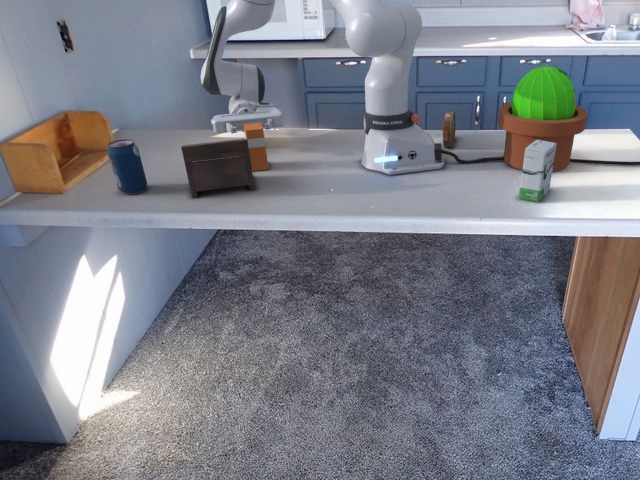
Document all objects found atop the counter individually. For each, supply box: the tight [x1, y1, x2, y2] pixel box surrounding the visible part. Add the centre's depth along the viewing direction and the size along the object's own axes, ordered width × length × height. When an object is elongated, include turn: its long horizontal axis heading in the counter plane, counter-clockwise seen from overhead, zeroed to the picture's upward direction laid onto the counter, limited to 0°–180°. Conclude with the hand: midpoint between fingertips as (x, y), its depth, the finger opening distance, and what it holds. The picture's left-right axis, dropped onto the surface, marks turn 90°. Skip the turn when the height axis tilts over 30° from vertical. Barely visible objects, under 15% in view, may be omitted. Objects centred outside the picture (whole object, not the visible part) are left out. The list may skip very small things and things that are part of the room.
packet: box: [244, 123, 269, 172], centre depth 146 cm, size 4×6×11 cm
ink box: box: [518, 140, 557, 203], centre depth 126 cm, size 9×5×12 cm, turn 148°
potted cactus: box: [497, 63, 589, 172], centre depth 141 cm, size 22×22×25 cm
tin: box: [442, 110, 456, 148], centre depth 161 cm, size 15×3×8 cm, turn 168°
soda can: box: [106, 138, 148, 195], centre depth 133 cm, size 7×7×12 cm
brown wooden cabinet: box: [180, 138, 256, 199], centre depth 134 cm, size 15×10×12 cm, turn 107°
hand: (251, 128), depth 153 cm, fingers open, 8 cm apart
